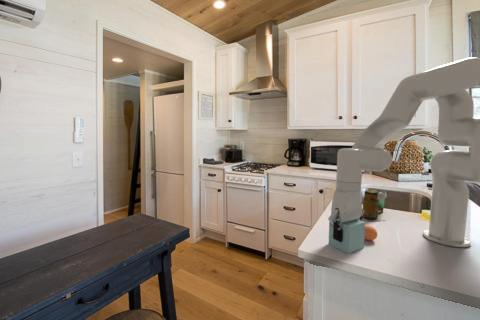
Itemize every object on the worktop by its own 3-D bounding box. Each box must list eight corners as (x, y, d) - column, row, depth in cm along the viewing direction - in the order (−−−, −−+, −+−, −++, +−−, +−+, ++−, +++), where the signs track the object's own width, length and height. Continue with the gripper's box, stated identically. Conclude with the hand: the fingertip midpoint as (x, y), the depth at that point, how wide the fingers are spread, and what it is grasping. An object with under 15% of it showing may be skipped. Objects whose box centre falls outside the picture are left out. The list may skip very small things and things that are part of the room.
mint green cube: (343, 238, 83) (344, 215, 82) (363, 247, 76) (365, 222, 76) (328, 243, 80) (329, 219, 79) (348, 253, 73) (349, 226, 72)
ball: (366, 235, 86) (367, 222, 85) (380, 241, 81) (380, 227, 81) (357, 238, 83) (358, 225, 83) (371, 244, 79) (372, 230, 78)
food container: (390, 215, 107) (391, 194, 106) (375, 215, 108) (377, 194, 107) (380, 207, 119) (381, 188, 118) (366, 207, 120) (367, 188, 119)
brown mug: (370, 214, 109) (372, 189, 108) (385, 220, 101) (387, 193, 100) (357, 215, 108) (358, 190, 106) (371, 222, 99) (372, 194, 98)
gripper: (355, 181, 83) (352, 228, 85) (320, 186, 75) (318, 238, 77) (375, 185, 77) (372, 236, 79) (340, 191, 68) (338, 248, 70)
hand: (346, 237), depth 78 cm, fingers closed on mint green cube, 7 cm apart
